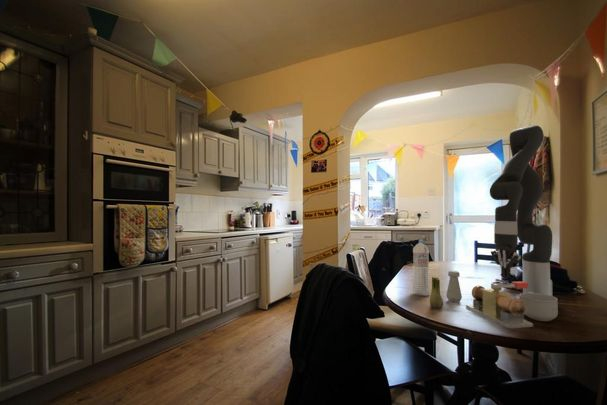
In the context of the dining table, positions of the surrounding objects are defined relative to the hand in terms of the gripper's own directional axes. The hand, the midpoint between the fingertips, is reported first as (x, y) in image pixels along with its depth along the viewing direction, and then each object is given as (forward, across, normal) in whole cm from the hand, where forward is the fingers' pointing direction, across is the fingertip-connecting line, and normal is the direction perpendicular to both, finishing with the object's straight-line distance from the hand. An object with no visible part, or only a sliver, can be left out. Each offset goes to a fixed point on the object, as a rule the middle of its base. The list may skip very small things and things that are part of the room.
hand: (505, 277), depth 113 cm
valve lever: (+3, -6, +4) cm, 7 cm away
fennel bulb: (+13, +6, +25) cm, 29 cm away
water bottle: (+13, +24, +21) cm, 35 cm away
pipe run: (+13, -6, +9) cm, 17 cm away
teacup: (+13, -8, -6) cm, 16 cm away
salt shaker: (+13, +12, +13) cm, 22 cm away
